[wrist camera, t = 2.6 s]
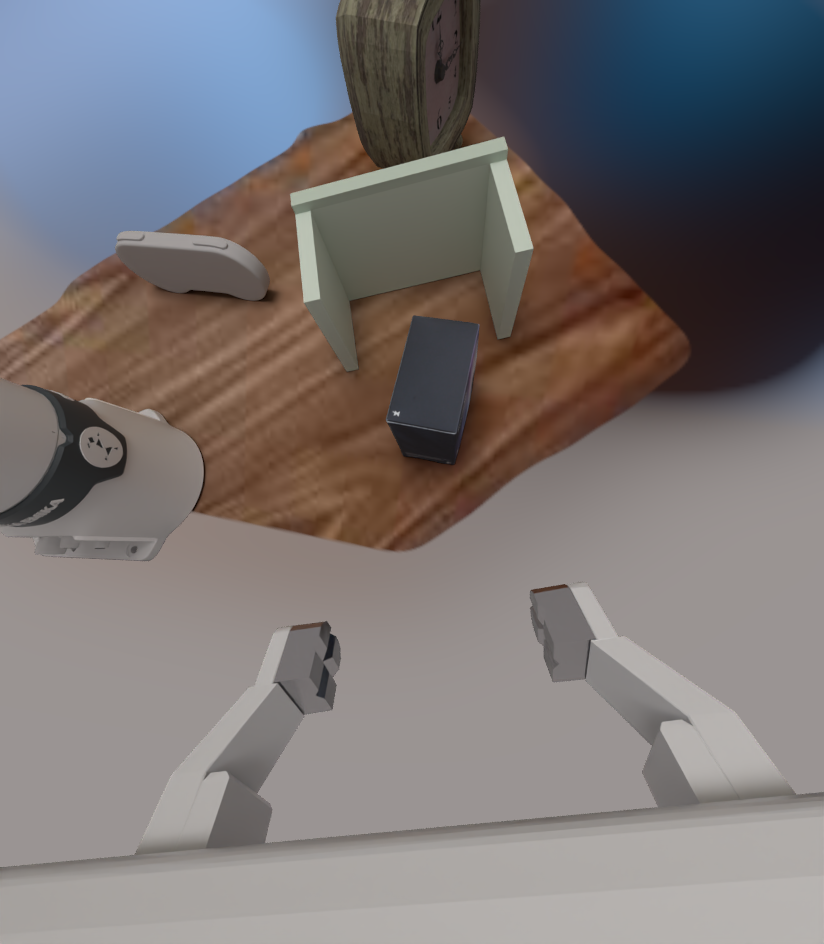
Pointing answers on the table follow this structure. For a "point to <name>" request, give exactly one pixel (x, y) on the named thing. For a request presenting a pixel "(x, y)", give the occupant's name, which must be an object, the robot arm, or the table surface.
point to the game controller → (193, 263)
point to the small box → (434, 388)
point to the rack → (412, 236)
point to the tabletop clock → (409, 74)
